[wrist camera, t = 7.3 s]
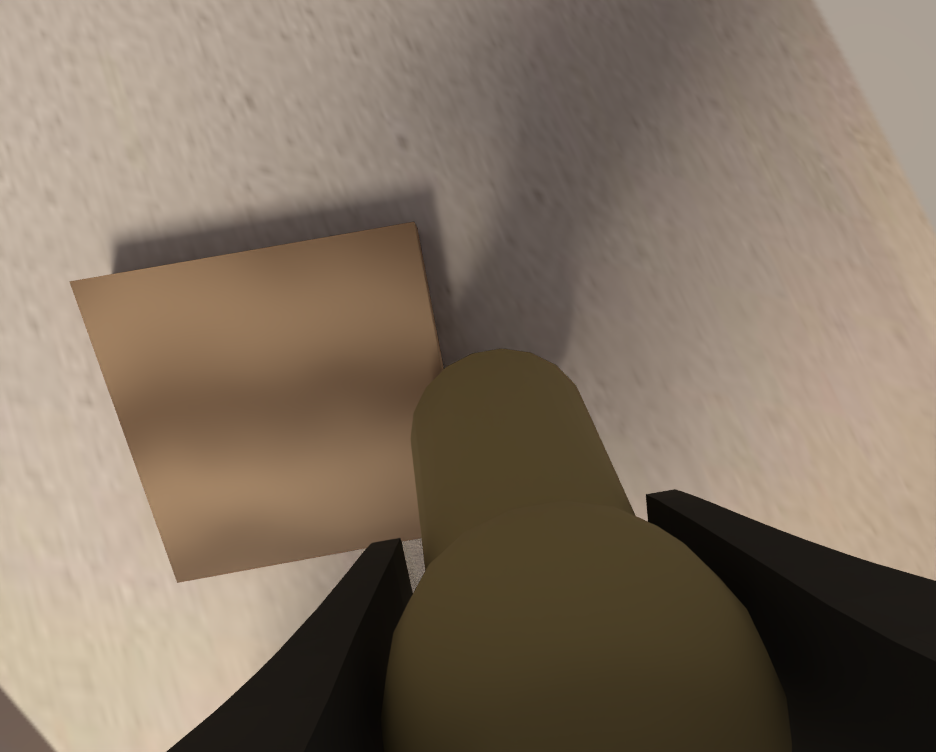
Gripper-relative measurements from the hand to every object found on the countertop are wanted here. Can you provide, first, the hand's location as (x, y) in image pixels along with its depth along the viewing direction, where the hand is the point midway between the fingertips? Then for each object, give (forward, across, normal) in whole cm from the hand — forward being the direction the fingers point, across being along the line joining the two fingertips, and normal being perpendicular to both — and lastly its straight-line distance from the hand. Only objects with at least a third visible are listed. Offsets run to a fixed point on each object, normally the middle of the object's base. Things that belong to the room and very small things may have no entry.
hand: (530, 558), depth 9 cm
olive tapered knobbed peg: (+6, 0, 0) cm, 6 cm away
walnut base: (+10, +7, -2) cm, 13 cm away
